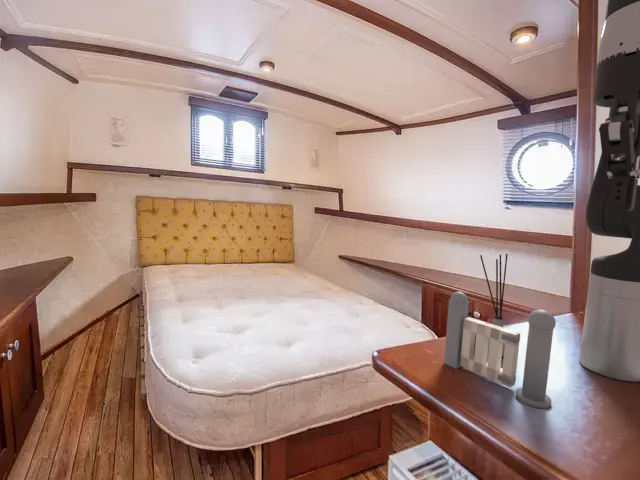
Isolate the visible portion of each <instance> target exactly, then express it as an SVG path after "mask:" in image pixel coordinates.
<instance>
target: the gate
mask: <svg viewBox="0 0 640 480" xmlns="http://www.w3.org/2000/svg"><path fill="white" fill-rule="evenodd" d="M475 333H477V334H476V345H475ZM489 338H490V344H489ZM520 341H521V332H518V331H515V330H512V329H510V328H509V329H508V328H506V327H504V326H503V327H500V326H496V325H493V324H492V323H489V322H487V321H483V320H480V319H477V318H473V317H470V316H468V317H467V318H465V319H464V326H463V338H462V350H461V362H460V366H461V367H462V368H465V369H467V370H468V371H469V370H470V371H471V372H473V373H474V372H475V373H476V374H478V375H481V376H482V377H486V378H487V379H489V380H492V381H494V382H497V383H498V384H501V385H503V386H505V387H508V388H512V387H514V386H515V385H516V380H517V368H518V359H519V358H518V357H519V351H520ZM503 342H504V343H505V350H504V356H502V349H503ZM474 345H475V356H474ZM488 345H489V354H488ZM473 356H474V357H473ZM502 357H503V359H502ZM502 360H503V361H502Z"/></svg>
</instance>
